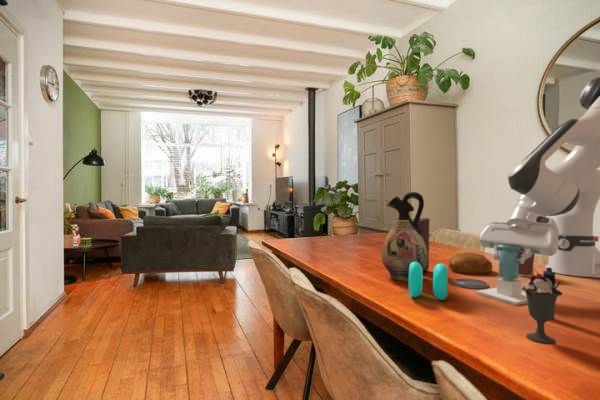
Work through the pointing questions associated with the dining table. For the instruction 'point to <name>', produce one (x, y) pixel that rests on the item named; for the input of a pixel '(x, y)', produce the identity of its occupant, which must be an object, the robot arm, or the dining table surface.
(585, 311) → the dining table surface
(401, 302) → the dining table surface
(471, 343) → the dining table surface
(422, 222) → the brown tall cylinder
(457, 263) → the brown oval lump
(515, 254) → the teal domed cylinder
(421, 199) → the ceramic jug
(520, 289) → the white cube on base
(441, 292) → the donuts
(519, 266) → the coffee cup
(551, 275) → the vaping device
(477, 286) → the dish
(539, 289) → the sundae
